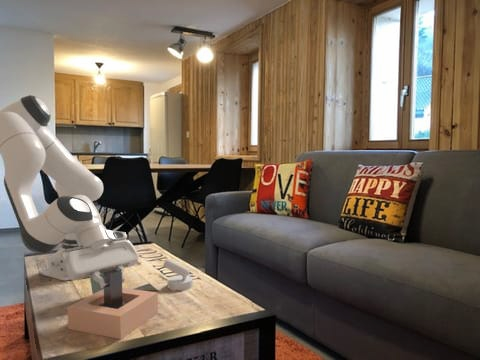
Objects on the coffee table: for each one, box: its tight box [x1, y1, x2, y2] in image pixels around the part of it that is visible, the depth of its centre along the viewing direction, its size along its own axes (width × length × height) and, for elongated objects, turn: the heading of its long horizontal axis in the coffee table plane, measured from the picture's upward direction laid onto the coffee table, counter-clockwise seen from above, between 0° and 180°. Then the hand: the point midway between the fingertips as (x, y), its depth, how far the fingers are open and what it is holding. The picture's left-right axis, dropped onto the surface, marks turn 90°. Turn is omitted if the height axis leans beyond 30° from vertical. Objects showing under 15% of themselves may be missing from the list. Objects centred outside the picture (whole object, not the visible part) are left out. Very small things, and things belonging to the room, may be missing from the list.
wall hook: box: [163, 258, 194, 291], centre depth 137 cm, size 9×10×10 cm
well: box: [66, 287, 159, 340], centre depth 110 cm, size 17×17×6 cm
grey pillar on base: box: [99, 270, 126, 309], centre depth 110 cm, size 5×5×10 cm
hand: (113, 284), depth 109 cm, fingers closed on grey pillar on base, 4 cm apart
